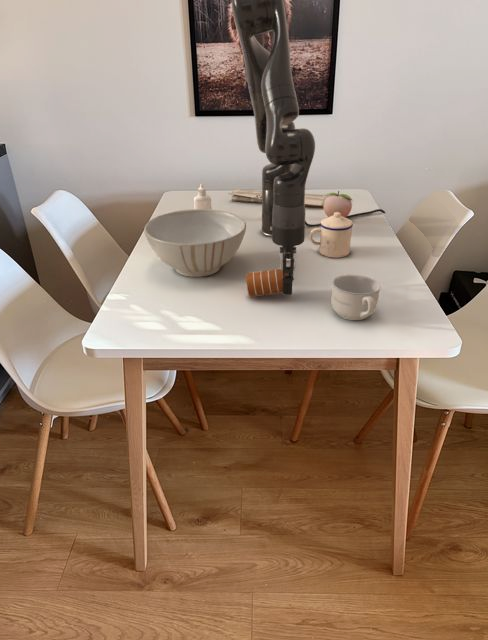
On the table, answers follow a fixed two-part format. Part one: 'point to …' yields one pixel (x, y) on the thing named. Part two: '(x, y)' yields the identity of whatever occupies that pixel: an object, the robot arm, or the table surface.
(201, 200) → the eye dropper bottle
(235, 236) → the decorative bowl
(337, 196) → the decorative fruit
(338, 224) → the teacup with lid
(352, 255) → the table surface
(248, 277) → the brown striped cylinder
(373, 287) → the teacup
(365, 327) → the table surface
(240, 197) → the newspaper
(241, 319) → the table surface
